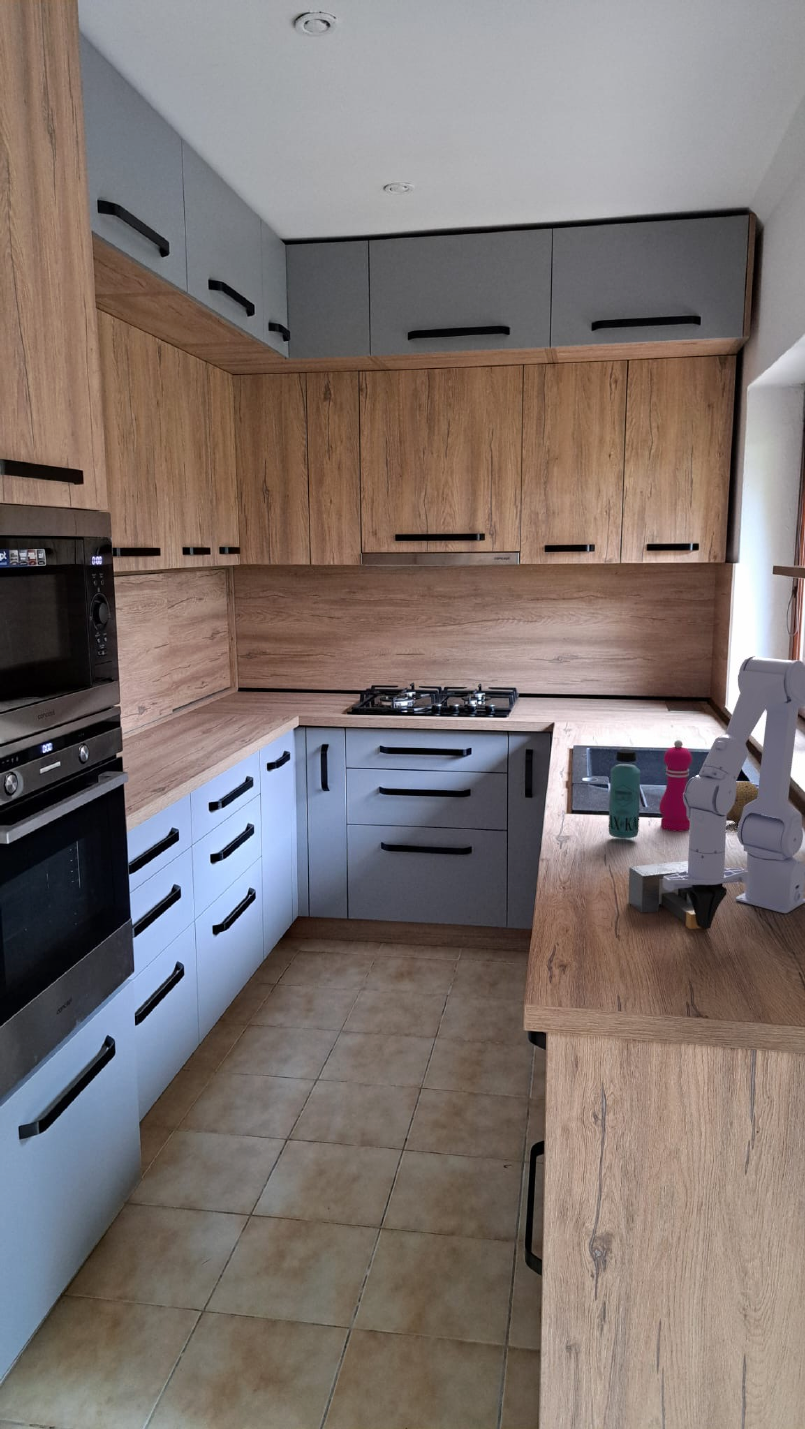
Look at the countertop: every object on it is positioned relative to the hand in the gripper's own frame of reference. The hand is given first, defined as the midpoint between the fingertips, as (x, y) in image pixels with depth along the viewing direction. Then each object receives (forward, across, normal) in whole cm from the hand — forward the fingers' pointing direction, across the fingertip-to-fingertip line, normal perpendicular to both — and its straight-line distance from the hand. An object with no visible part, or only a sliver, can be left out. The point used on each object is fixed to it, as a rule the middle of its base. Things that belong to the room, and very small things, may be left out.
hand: (703, 926), depth 163 cm
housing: (+1, 0, -13) cm, 13 cm away
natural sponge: (+1, -40, -51) cm, 65 cm away
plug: (+1, 0, -9) cm, 9 cm away
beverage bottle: (+1, -10, -48) cm, 49 cm away
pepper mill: (+1, -25, -53) cm, 59 cm away
